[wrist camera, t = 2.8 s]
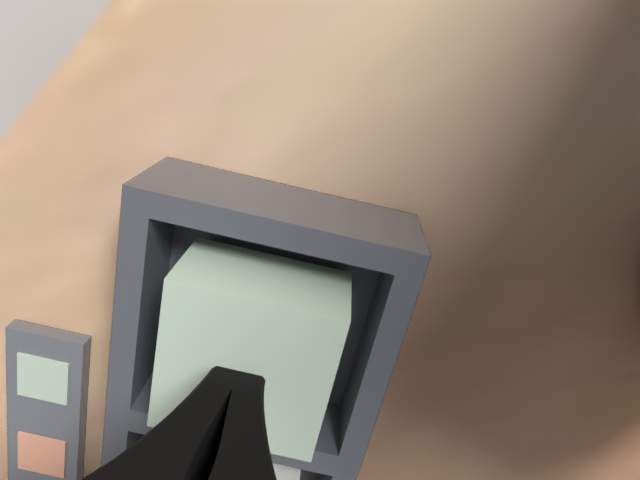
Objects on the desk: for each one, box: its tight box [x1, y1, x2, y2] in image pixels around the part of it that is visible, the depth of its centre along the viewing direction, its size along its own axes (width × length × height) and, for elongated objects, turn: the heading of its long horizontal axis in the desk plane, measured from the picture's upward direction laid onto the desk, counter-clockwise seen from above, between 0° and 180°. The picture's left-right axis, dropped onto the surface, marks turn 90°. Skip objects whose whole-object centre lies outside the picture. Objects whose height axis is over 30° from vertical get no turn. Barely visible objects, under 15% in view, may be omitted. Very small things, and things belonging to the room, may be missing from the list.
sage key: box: [147, 237, 352, 462], centre depth 16 cm, size 5×5×3 cm
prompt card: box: [5, 319, 91, 480], centre depth 21 cm, size 3×8×1 cm, turn 168°
